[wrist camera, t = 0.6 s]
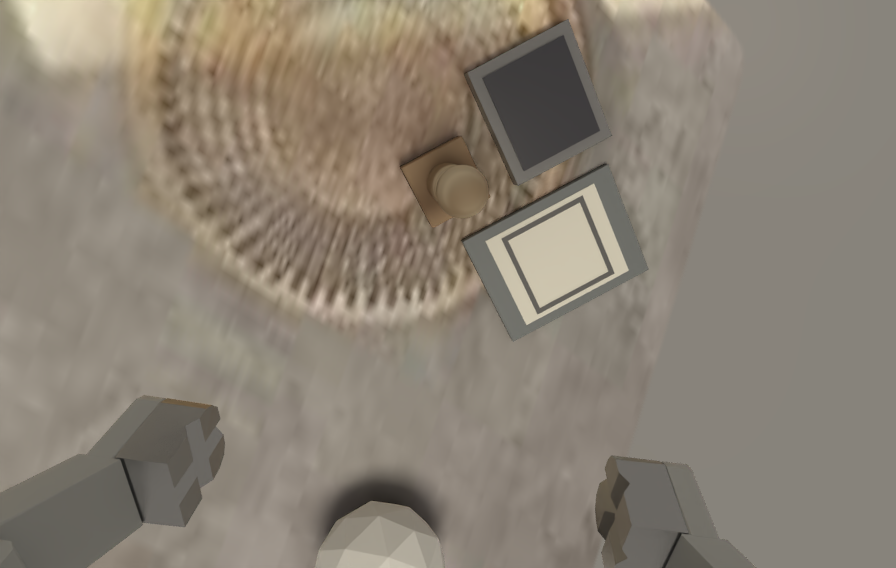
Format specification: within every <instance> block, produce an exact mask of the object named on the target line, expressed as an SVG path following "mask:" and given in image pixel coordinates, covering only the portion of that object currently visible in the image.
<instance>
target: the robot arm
mask: <svg viewBox="0 0 896 568" xmlns="http://www.w3.org/2000/svg"><path fill="white" fill-rule="evenodd" d="M219 420H220V415H219V411H218V407H216V406H213V405H208V404H201V403H195V402H188V401H182V400H175V399H169V398H167V399H166V398H160V397H153V396H146V395H144V396H142V397H140V398H137V399H136V400H135V401H134V402H133V403H132V404H131V405H130V406H129V408H128V409H127V410H126V411H125V412H124V413H123V414H122V415H121V416H120V418H119V419H118V420H117V421H116V422H115V423H114V424H113V425H112V426H111V428H110V429H109V430H108V431H107V432H106V433H105V434H104V435H103V436H102V438H101V439H100V440H99V441H98V442H97V443H96V444H95V445H94V446H93V448H92V449H91V450H90V451H89V452H88V453H87V454H86V455H85V454H78V455H76V456H74V457H72V458H69V459H67V460H65V461H63V462H61V463H59V464H57V465H55V466H53V467H51V468H49V469H47V470H45V471H43V472H41V473H39V474H37V475H35V476H33V477H31V478H29V479H27V480H25V481H23V482H21V483H19V484H17V485H15V486H13V487H11V488H9V489H7V490H5V491H3V492H1V493H0V568H87V567H88V566H90V565H91V564H92V563H94V562H95V561H96V560H98V559H99V558H100V557H102V556H103V555H104V554H105V553H107V552H108V551H109V550H111V549H112V548H113V547H115V546H116V545H117V544H119V543H120V542H121V541H123V540H124V539H125V538H127V537H128V536H129V535H130V534H132V533H133V532H134V531H136V530H137V529H138V528H140V527H141V526H142V525H143V524H142V523H150V524H160V525H169V526H178V527H185V526H186V525H187V523H188V521H189V520H190V518H191V516H192V515H193V513H194V511H195V510H196V508H197V506H198V505H199V503H200V501H201V500H202V495H201V489H200V488H201V487H203V486H204V485H206V484H207V483H209V482H210V481H212V480H213V479H214V477H215V476H216V474H217V472H218V470H219V468H220V466H221V462H222V459H223V456H224V449H225V441H224V435H223V434H222V433H221V432H220V430H219V429H218V428H217V427H216V425H217V423H218V422H219ZM605 472H606V477H607V479H605V480H604V481H602V482H601V483H600V484H599V487H598V491H597V494H596V504H595V515H596V524H597V530H598V532H599V533H600V534H601V536H602V537H603V538H604V539H605V540H606V541H605V544H604V546H603V549H602V552H601V553H602V558H603V564H604V568H756V567H755V566H754V565H753V564H752V563H751V562H750V561H749V560H748V559H747V558H746V557H745V556H744V555H743V554H742V553H741V552H740V551H738V550H737V549H736V548H735V547H734V546H733V545H732V544H731V543H730V542H729V541H728V540H725V539H719V536H718V534H717V531H716V529H715V526H714V524H713V521H712V519H711V516H710V514H709V511H708V509H707V506H706V504H705V501H704V499H703V496H702V494H701V491H700V489H699V486H698V484H697V481H696V479H695V476H694V474H693V471H692V469H691V468H690V467H689V466H688V465H687V464H678V463H670V462H660V461H654V460H646V459H637V458H628V457H620V456H611V457H610V458H609V459H608V461H607V463H606V466H605Z"/></svg>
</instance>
